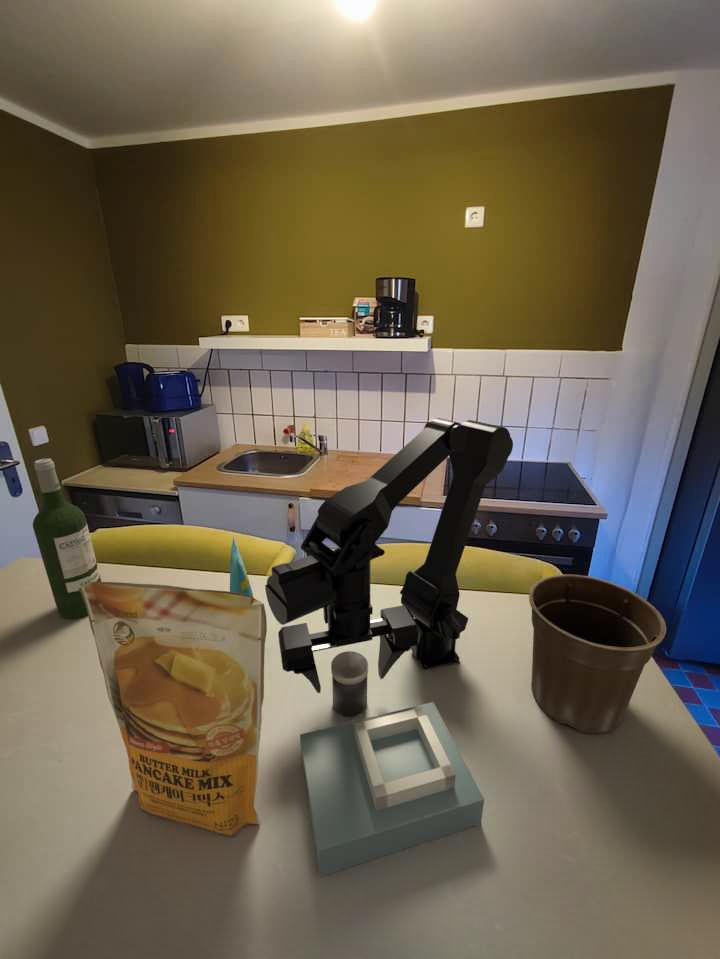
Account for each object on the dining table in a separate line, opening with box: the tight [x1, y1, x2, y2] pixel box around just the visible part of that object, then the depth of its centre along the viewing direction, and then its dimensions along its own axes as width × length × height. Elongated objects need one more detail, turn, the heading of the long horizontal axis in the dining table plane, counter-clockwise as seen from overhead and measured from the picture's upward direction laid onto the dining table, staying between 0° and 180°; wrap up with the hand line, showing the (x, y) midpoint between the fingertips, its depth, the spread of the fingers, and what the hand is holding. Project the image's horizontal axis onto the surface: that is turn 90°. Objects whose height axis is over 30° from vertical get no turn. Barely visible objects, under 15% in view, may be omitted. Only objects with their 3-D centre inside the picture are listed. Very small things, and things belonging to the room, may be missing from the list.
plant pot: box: [528, 573, 667, 735], centre depth 60 cm, size 16×16×16 cm
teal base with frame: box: [299, 701, 485, 878], centre depth 50 cm, size 18×13×6 cm
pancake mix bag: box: [78, 581, 268, 837], centre depth 45 cm, size 7×19×28 cm, turn 76°
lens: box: [330, 650, 369, 718], centre depth 61 cm, size 5×5×7 cm
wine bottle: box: [32, 458, 102, 620], centre depth 79 cm, size 8×8×30 cm
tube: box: [229, 535, 254, 598], centre depth 70 cm, size 7×5×19 cm, turn 26°
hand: (350, 683), depth 61 cm, fingers open, 9 cm apart
